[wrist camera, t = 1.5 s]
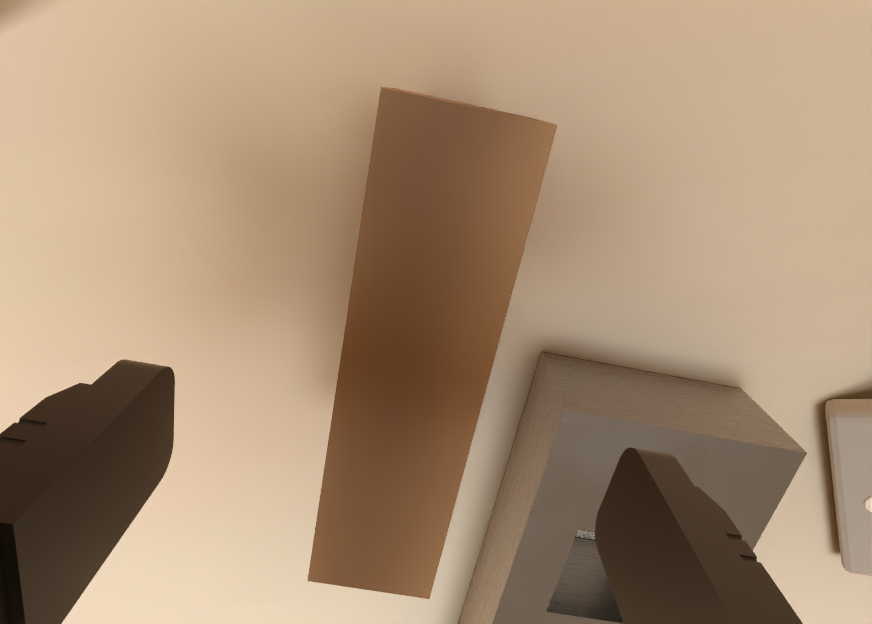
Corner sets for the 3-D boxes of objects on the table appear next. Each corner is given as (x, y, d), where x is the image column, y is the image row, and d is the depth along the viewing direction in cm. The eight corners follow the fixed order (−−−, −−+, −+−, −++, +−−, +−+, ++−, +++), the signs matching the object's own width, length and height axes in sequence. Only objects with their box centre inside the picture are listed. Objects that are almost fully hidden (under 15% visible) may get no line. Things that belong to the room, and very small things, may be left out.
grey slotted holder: (741, 388, 21) (807, 453, 17) (575, 737, 29) (595, 831, 25) (541, 352, 20) (564, 410, 17) (429, 718, 28) (428, 811, 25)
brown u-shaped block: (505, 110, 17) (557, 125, 10) (432, 424, 22) (429, 598, 14) (406, 89, 17) (381, 87, 9) (353, 410, 21) (307, 580, 14)
